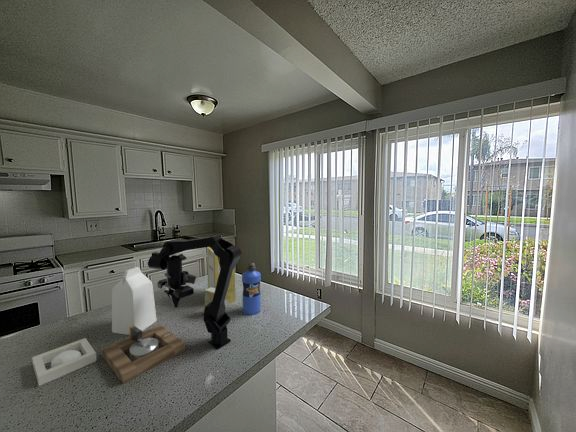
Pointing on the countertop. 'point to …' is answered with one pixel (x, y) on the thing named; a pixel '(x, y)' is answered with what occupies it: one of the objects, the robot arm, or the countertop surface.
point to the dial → (141, 344)
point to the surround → (133, 369)
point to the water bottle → (251, 290)
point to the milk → (133, 302)
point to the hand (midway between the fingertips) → (175, 307)
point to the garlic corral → (65, 368)
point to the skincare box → (209, 295)
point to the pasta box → (214, 274)
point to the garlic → (65, 357)
